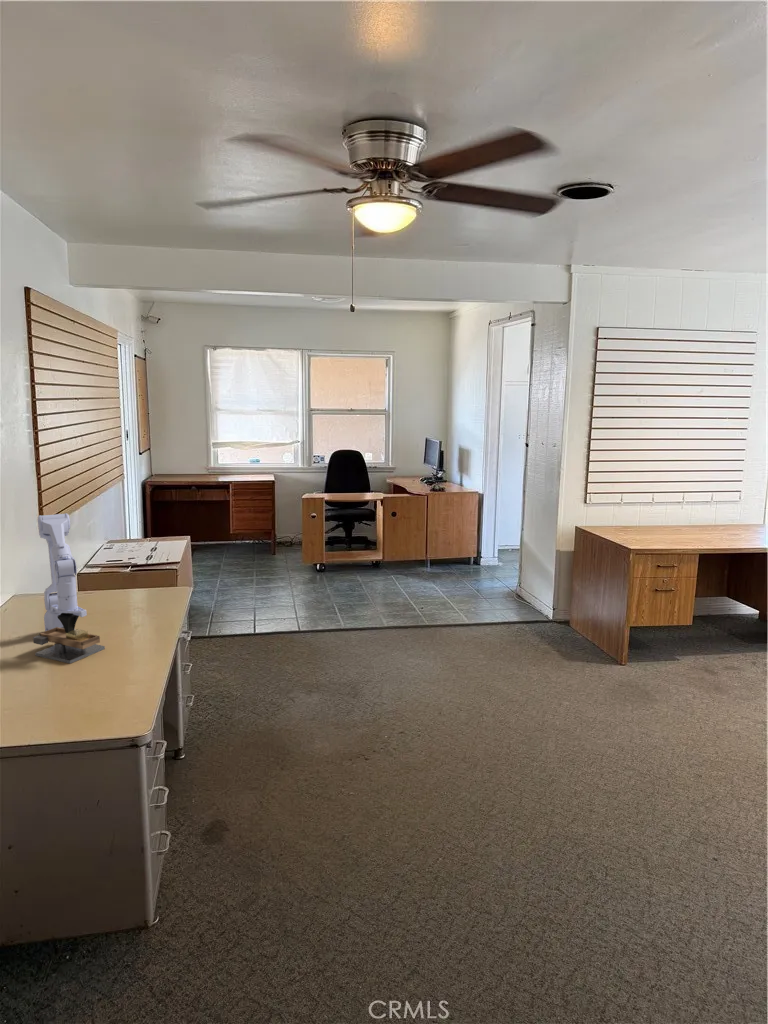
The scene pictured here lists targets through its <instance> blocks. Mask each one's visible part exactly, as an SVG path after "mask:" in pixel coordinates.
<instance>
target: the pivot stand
mask: <svg viewBox="0 0 768 1024" xmlns="http://www.w3.org/2000/svg"><path fill="white" fill-rule="evenodd" d="M105 647H106V646H105V645H101V644H98V643H97V644H95V645H92V646H90V647H87V648H85V649H80V648H75V647H71V646H66V645H62V644H60V643H54V645H52V646H50V647H49V646H48V648H47V647H46V648H44V649H42V650H41V649H40V650H39V651H35V656H36V657H38V658H39V657H41V658H44V659H49V660H53V661H57V662H62V663H65V664H66V663H67V664H73V663H75V662H77V661H79V660H82V659H84V658H87V657H89V656H91V655H94V654H96V653H99V652H100V651H103V650H105Z"/></svg>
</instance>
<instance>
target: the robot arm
mask: <svg viewBox="0 0 768 1024" xmlns="http://www.w3.org/2000/svg"><path fill="white" fill-rule="evenodd" d="M37 527H38V534H39V537H40V538H41V539H44V540H45V542H46V543H47V547H48V548H47V549H48V558H49V566H50V576H51V584H50V585H49V586H47V588H45V590H44V592H43V593H44V595H43V596H44V597H43V598H44V599H43V600H44V608H45V611H46V612H45V613H44V616H43V621H44V623H43V624H44V632H45V631H47V630H50V629H53V628H56V627H59V628H61V627H64V629H65V632H66V633H67V632H70V631H73V630H76V628H75V627H76V623H77V621H78V619H79V617H80V618H84V617H87V615H88V614H87V609H84V608H82V607H80V606H78V597H77V596H78V595H77V594H78V593H77V582H76V576H77V573H78V570H77V569H78V568H77V562H76V559H75V557H74V556H73V554H72V550H71V546H70V545H69V544H68V543H66V536H68V535H69V533H70V529H71V520H70V515H69V513H67V512H64V513H55V514H46V515H38V517H37Z"/></svg>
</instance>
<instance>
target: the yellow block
mask: <svg viewBox="0 0 768 1024" xmlns="http://www.w3.org/2000/svg"><path fill="white" fill-rule="evenodd" d="M88 634H89V633H88V630H83V629H79V628H75V630H73V631H70V632H67V633H66V638H67V639H72V640H76V641H83V640H86V639H88Z"/></svg>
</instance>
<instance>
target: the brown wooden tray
mask: <svg viewBox="0 0 768 1024" xmlns="http://www.w3.org/2000/svg"><path fill="white" fill-rule="evenodd" d="M32 641H33V644H36V645H41V646H43V645H45V644H49V643H54V644H55V643H60V644H62V645H66V646H71V647H75V648H80V649H85V648H87V647H90V646H92V645H95V644H97V645H98V644H99V643H101V637H100V635H97V634H93V633H92V634H91V633H88V639H86V640H83V641H76V640H72V639H67V638H66V632H65V629H64V627H61V628H59V627H56V628H53V629H50V630H47V631H45V630H44V631H43V632H42V631H41V632H40V633H39V635H35V636H34V637H32Z"/></svg>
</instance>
